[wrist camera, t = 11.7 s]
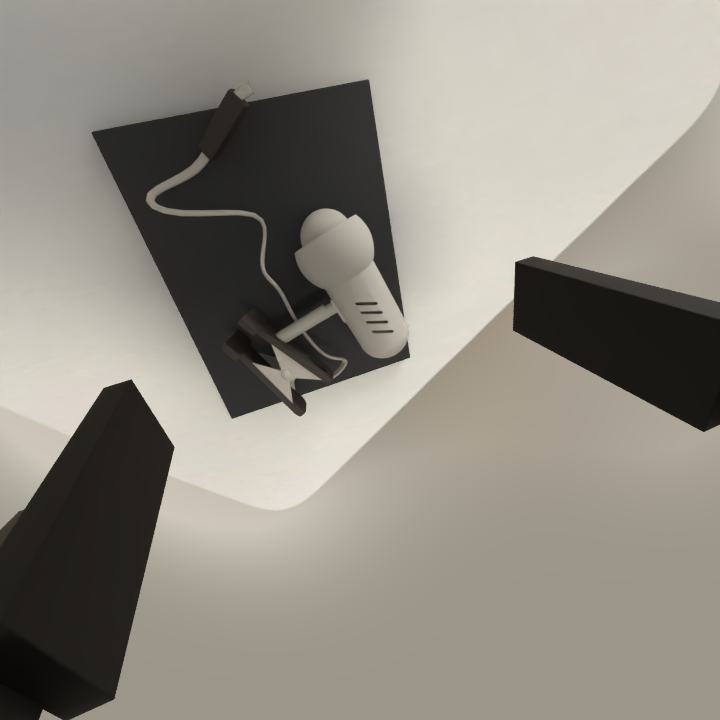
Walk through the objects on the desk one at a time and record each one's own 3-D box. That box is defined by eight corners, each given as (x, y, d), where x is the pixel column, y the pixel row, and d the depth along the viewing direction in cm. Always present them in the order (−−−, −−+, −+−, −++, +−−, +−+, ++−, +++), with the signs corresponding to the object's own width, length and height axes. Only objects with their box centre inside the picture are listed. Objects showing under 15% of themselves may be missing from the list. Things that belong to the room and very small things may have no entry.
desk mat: (94, 133, 19) (90, 131, 19) (366, 81, 22) (369, 79, 21) (232, 415, 29) (231, 419, 28) (407, 354, 32) (410, 357, 31)
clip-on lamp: (134, 192, 22) (291, 404, 28) (66, 171, 16) (283, 446, 22) (287, 90, 22) (417, 329, 27) (274, 28, 16) (444, 352, 21)
